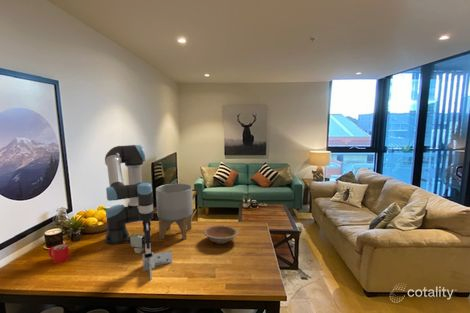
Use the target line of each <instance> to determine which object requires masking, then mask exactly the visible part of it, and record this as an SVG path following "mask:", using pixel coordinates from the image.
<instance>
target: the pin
mask: <svg viewBox="0 0 470 313" xmlns="http://www.w3.org/2000/svg"><path fill="white" fill-rule="evenodd" d="M151 229H152V228H151V227H150V232H151ZM142 231H143V233H144V234H143V235H145V231H144V228H143V229H142ZM144 250H145V251H144V252H145V253H146V249H145V248H144ZM145 253H144V254H145ZM147 257H151V253H149V254H146V258H147Z"/></svg>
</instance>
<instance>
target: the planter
mask: <svg viewBox="0 0 470 313" xmlns="http://www.w3.org/2000/svg"><path fill="white" fill-rule="evenodd" d="M155 195H156V196H155V198H156V215H157V217H158V232H159V236H158V237H159V240H164V239H165V233H166V232H167V230H169V231H170V230H171V227H172V226H171V225H172V224H174V223H176V224H177V226H178V228H179V230H180V233H181V239H182V240H184V241H185V240H187V230H188V231H190V230H192V215H193V213H194V212H193V211H194V210H193V209H194V205H193V186H192V185H191V184H187V183H180V182H179V183H176V182H175V183H168V184H162V185H160V186H157V187H156V189H155Z"/></svg>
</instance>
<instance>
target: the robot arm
mask: <svg viewBox="0 0 470 313" xmlns="http://www.w3.org/2000/svg"><path fill="white" fill-rule="evenodd" d="M144 162H146V154H145V150H144V148H143V146H142V145H141V144H132V145H131V144H130V145H117V146H114V147H111V148H110V149H109V150H108V152H106V154H105V157H104V164H105V165H106V166H107V168H106V169H107V174H108V175H107V176H108V184H109V186H107V187H106V188H105V191H106V200H107V201H109V202H112V201H119V200H121V201H122V200H126V199H129V202H127V206H125V205H124V204H116V205H112V206H110V207H109V208H107V209H106V211H105V212H106V213H105V218H106V228H107V229H106V233H105V237H104V240H105V243H106V244H108V245H117V244H121V243H124V242H126V241H127V242H128V238H129V237H130V233H129V231H128V229H127V224H131V223H138V222H142V227H143V229H144V231H145V235H144V234H143V235H144V237H145V242H144V244H145V246H144V250H145V249H146V254H149V253H151V252H152V248H151V247H152V246H151V244H152V241H151V238H152V237H151V231H150V228H151V220H152V219H153V218H154V203H153V187H152V183H150V182H143V180H142V179H143V178H142V167H143V166H144ZM121 164H124V166H125V167H126V168H127V180H128V184H125V183H124V177H123V171H122V167H121Z"/></svg>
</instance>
